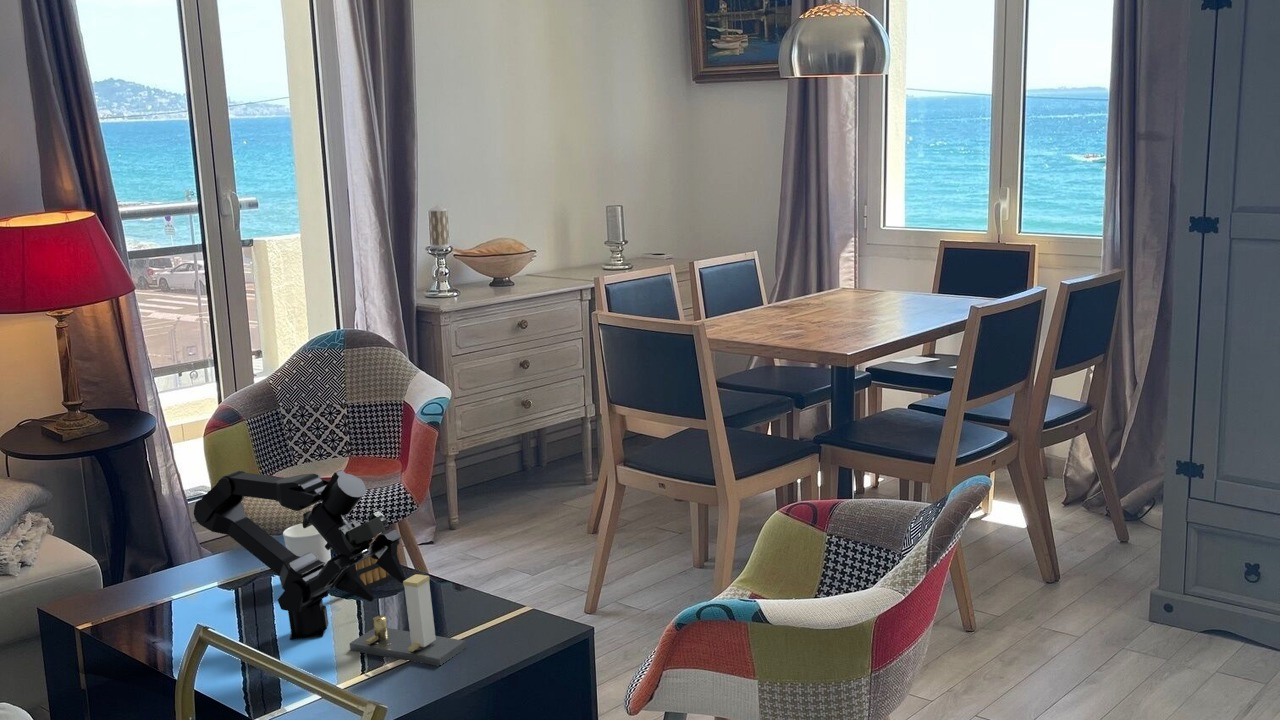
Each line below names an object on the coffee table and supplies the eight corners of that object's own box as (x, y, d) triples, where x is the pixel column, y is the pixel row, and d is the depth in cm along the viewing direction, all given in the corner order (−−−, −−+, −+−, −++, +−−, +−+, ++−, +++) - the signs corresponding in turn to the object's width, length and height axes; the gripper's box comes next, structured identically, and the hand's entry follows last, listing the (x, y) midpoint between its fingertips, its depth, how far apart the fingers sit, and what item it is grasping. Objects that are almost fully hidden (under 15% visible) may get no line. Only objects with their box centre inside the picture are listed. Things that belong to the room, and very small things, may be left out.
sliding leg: (403, 651, 219) (395, 585, 217) (422, 638, 224) (415, 574, 222) (417, 653, 218) (409, 587, 215) (436, 640, 223) (429, 575, 220)
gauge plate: (350, 650, 225) (346, 623, 224) (377, 633, 232) (374, 607, 231) (440, 666, 216) (437, 638, 215) (465, 648, 223) (462, 620, 222)
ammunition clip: (355, 595, 253) (348, 541, 251) (350, 593, 254) (343, 540, 252) (395, 578, 261) (389, 526, 259) (390, 576, 262) (384, 525, 260)
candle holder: (328, 587, 258) (321, 535, 256) (284, 590, 259) (276, 538, 256) (340, 571, 268) (334, 520, 266) (297, 573, 268) (290, 523, 266)
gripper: (322, 519, 214) (377, 584, 211) (388, 488, 230) (440, 548, 227) (294, 556, 219) (348, 619, 216) (361, 523, 235) (411, 582, 233)
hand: (388, 590), depth 223 cm, fingers open, 9 cm apart
